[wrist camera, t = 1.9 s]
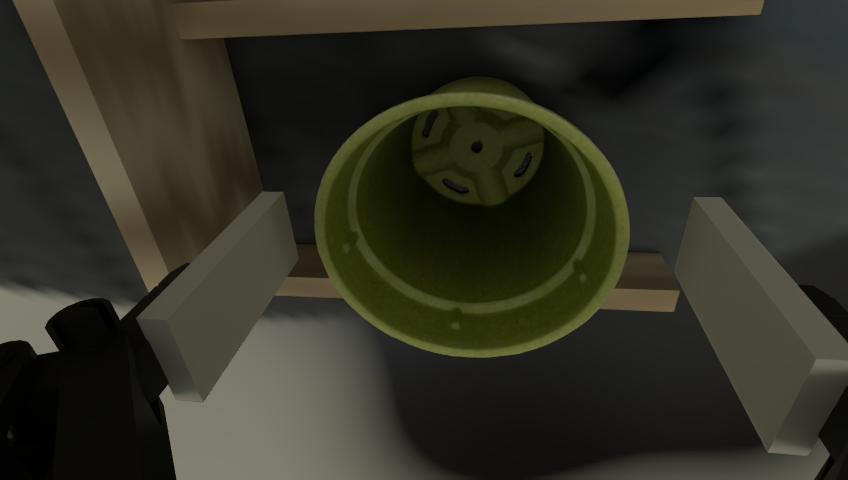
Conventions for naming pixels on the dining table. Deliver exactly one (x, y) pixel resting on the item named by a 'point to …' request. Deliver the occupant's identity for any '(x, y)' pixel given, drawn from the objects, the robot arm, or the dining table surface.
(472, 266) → the plant pot
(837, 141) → the dining table surface
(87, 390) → the robot arm
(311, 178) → the dining table surface
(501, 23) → the notch rack
